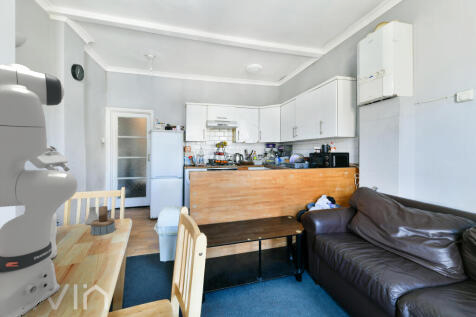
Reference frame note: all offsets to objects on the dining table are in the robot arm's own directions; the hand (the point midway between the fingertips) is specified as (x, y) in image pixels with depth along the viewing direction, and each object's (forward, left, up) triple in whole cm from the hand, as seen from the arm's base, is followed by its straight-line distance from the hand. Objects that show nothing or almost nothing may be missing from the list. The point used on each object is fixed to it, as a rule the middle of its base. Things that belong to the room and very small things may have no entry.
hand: (63, 171), depth 101 cm
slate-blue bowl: (+9, -14, -34) cm, 38 cm away
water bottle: (-20, -7, -35) cm, 41 cm away
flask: (+22, -1, -35) cm, 41 cm away
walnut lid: (+9, -14, -30) cm, 34 cm away
